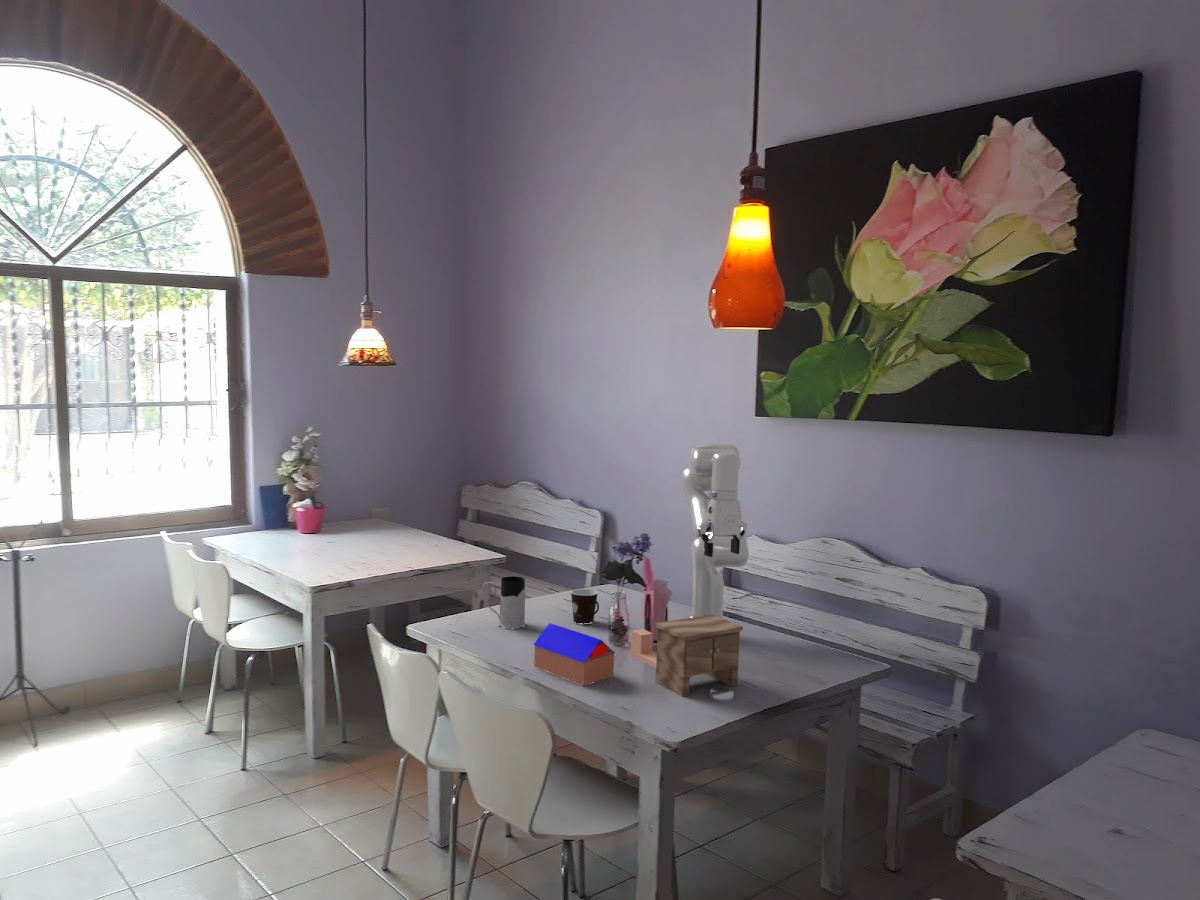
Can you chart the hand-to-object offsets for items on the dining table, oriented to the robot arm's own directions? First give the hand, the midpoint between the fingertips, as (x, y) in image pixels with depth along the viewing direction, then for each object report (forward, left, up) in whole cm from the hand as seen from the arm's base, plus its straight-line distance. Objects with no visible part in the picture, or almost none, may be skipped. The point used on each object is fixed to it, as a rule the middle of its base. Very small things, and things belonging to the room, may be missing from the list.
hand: (721, 554), depth 261 cm
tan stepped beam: (-3, -19, -30) cm, 36 cm away
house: (-8, -44, -31) cm, 54 cm away
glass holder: (-56, -42, -31) cm, 76 cm away
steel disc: (+26, -19, -31) cm, 44 cm away
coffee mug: (-46, -18, -31) cm, 58 cm away
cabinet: (+15, -19, -30) cm, 39 cm away
